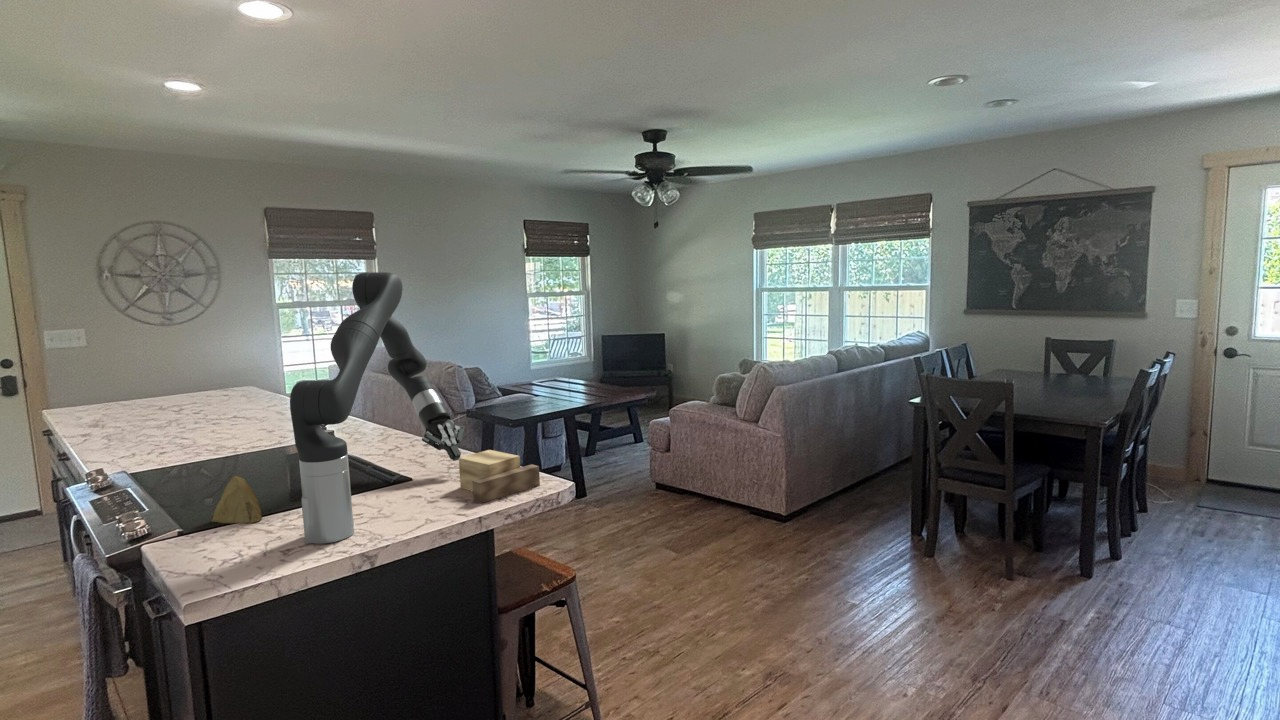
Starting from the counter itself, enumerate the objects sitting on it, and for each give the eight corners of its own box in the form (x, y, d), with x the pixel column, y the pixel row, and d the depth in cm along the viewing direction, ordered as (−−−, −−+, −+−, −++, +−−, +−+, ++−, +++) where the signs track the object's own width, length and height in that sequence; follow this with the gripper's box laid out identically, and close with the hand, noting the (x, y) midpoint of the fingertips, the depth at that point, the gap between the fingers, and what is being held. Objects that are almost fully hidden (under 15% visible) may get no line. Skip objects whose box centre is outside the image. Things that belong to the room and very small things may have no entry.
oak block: (490, 496, 167) (489, 464, 166) (460, 488, 174) (458, 458, 173) (521, 485, 174) (519, 455, 173) (490, 478, 182) (489, 449, 181)
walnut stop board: (480, 503, 161) (479, 483, 160) (473, 500, 163) (472, 480, 162) (539, 485, 174) (539, 466, 173) (532, 482, 176) (531, 464, 175)
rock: (276, 508, 154) (262, 494, 161) (249, 486, 149) (236, 472, 156) (235, 546, 149) (222, 529, 156) (206, 524, 144) (194, 507, 151)
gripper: (413, 404, 183) (440, 456, 176) (455, 397, 193) (482, 445, 186) (404, 421, 187) (430, 472, 180) (447, 413, 197) (473, 461, 190)
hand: (457, 458), depth 183 cm, fingers closed
